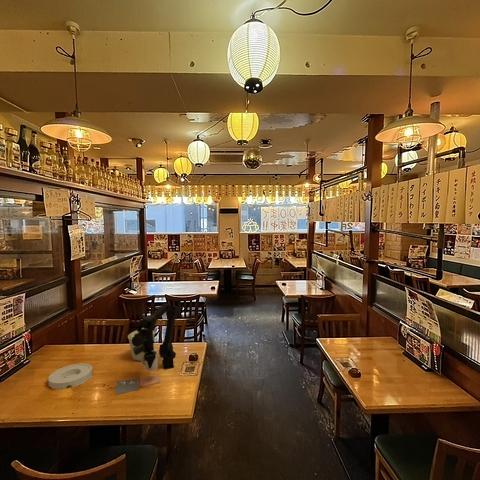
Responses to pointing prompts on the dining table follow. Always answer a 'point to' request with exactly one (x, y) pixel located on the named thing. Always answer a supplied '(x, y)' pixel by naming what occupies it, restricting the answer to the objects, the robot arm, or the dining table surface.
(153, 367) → the cup
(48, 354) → the dining table surface
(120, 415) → the dining table surface
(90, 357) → the dining table surface
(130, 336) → the canister
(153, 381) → the coaster pad
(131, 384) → the tile
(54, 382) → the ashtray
